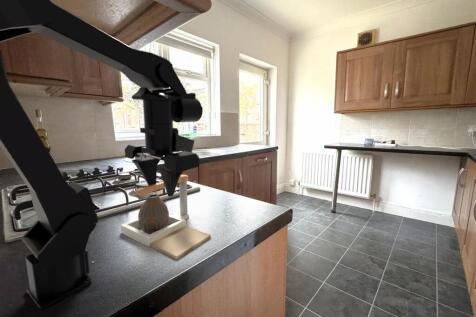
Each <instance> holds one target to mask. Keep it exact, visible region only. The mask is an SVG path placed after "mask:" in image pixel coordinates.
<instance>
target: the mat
mask: <svg viewBox="0 0 476 317" xmlns="http://www.w3.org/2000/svg"><path fill="white" fill-rule="evenodd" d="M211 237H212V235H211V234H209V233H206V232H203V231H201V230H198V229H195V228H193V227H191V226H187V225H186V226H184V227H182V228H180V229H178V230H176V231H174V232H172V233H170V234H168V235H166V236H164V237H162V238H160V239H158V240H156V241H154V242H152V243H150V246H149V247H150V248H153V249H154V250H157V251H159V252H161V253H163V254H165V255H167V256H169V257H171V258H173V259H175V260H179V259H180V258H181V257H183V256H184V255H186V254H187V253H188V252H190V251H192V250H193V249H195V248H196V247H198V246H200V245H201V244H202V243H205V242H206V241H207V240H209V239H210V238H211Z"/></svg>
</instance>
